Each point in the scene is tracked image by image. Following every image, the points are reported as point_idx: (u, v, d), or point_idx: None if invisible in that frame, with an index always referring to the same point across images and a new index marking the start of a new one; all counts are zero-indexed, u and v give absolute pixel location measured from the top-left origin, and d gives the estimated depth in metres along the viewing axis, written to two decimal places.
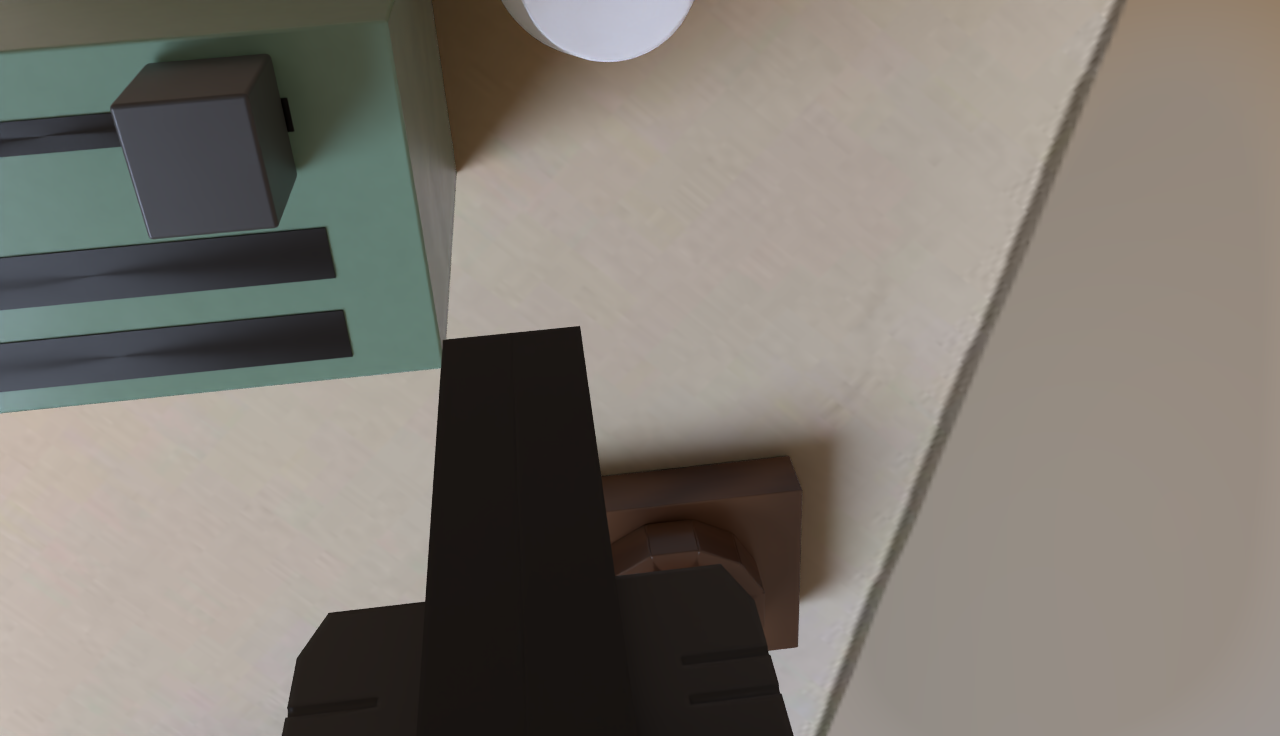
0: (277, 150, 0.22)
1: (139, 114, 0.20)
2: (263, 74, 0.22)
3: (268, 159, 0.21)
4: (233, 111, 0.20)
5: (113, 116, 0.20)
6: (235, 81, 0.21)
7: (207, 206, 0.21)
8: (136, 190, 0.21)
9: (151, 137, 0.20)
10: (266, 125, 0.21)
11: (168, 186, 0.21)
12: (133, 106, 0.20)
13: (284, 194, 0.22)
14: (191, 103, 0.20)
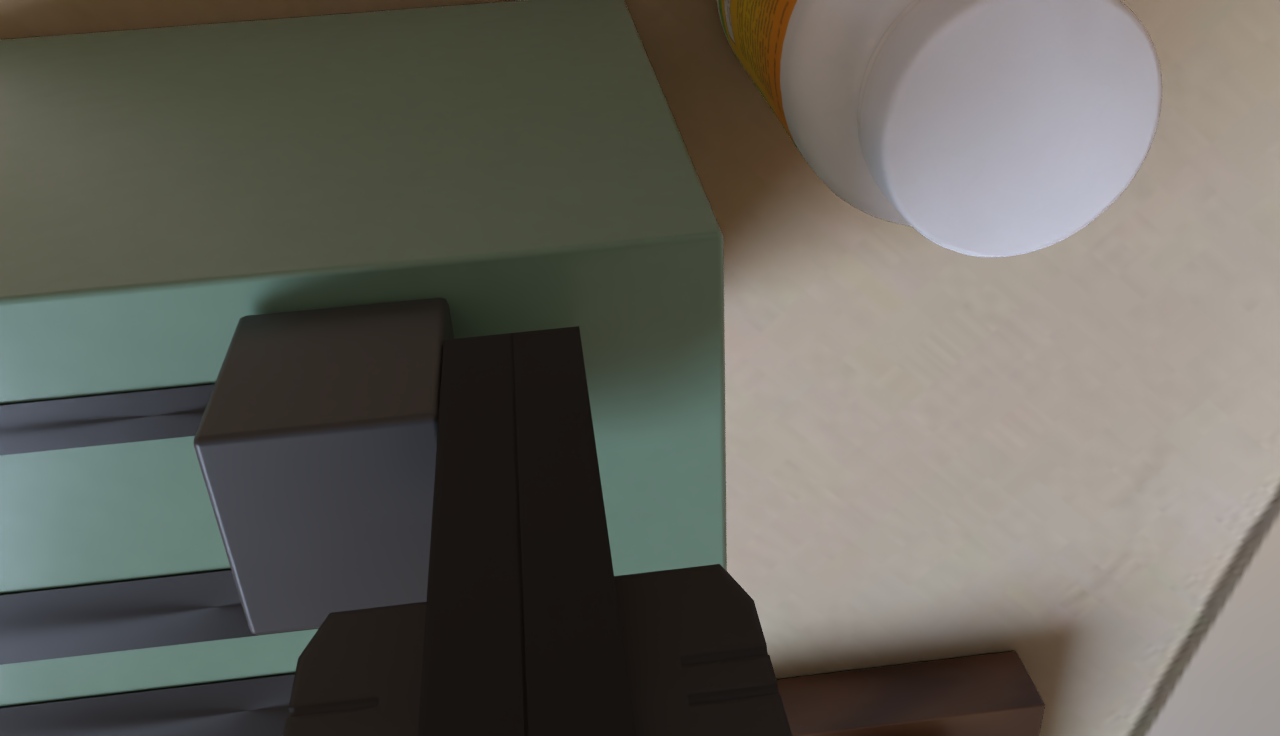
0: None
1: (246, 453, 0.11)
2: None
3: None
4: (414, 443, 0.11)
5: (199, 457, 0.11)
6: (408, 375, 0.12)
7: (354, 585, 0.12)
8: (233, 566, 0.12)
9: (265, 487, 0.11)
10: None
11: (289, 558, 0.12)
12: (235, 437, 0.11)
13: None
14: (339, 433, 0.11)
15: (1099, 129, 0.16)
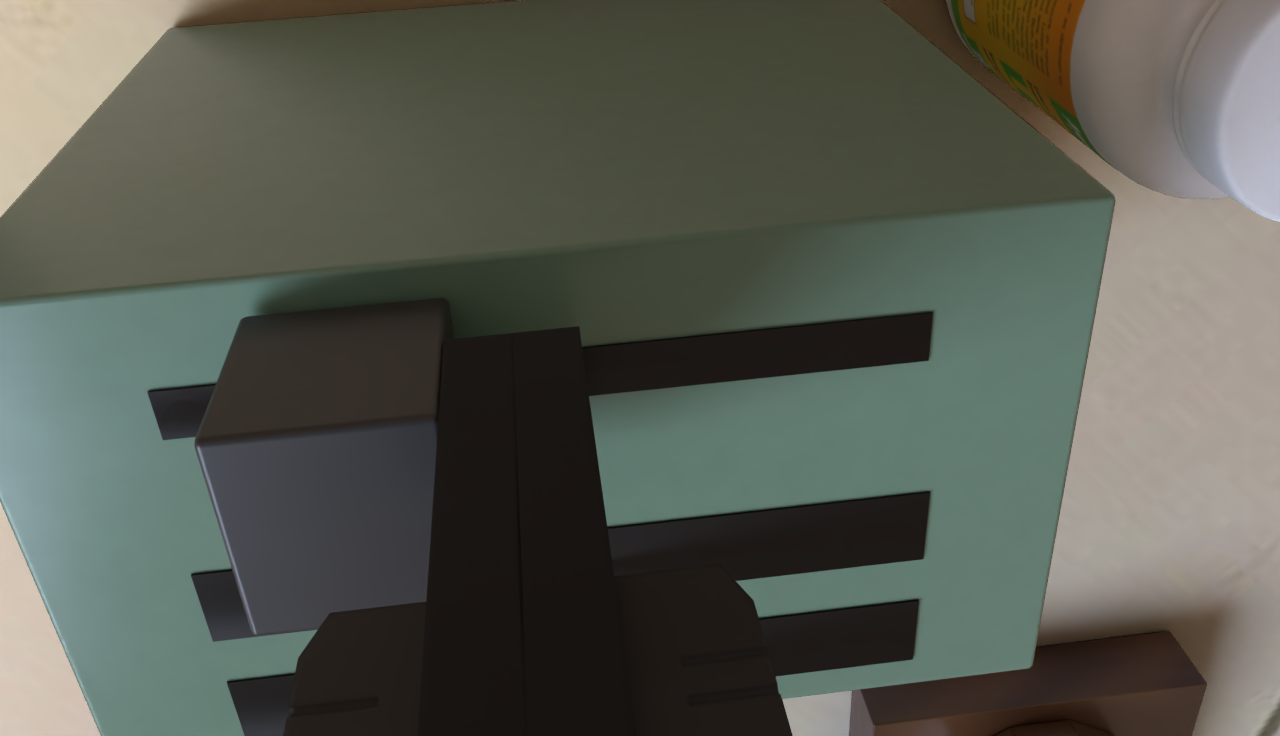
0: None
1: (246, 454, 0.11)
2: None
3: None
4: (414, 443, 0.11)
5: (200, 458, 0.11)
6: (408, 376, 0.12)
7: (355, 586, 0.12)
8: (234, 567, 0.12)
9: (266, 488, 0.11)
10: None
11: (290, 559, 0.12)
12: (235, 439, 0.11)
13: None
14: (340, 433, 0.11)
15: None
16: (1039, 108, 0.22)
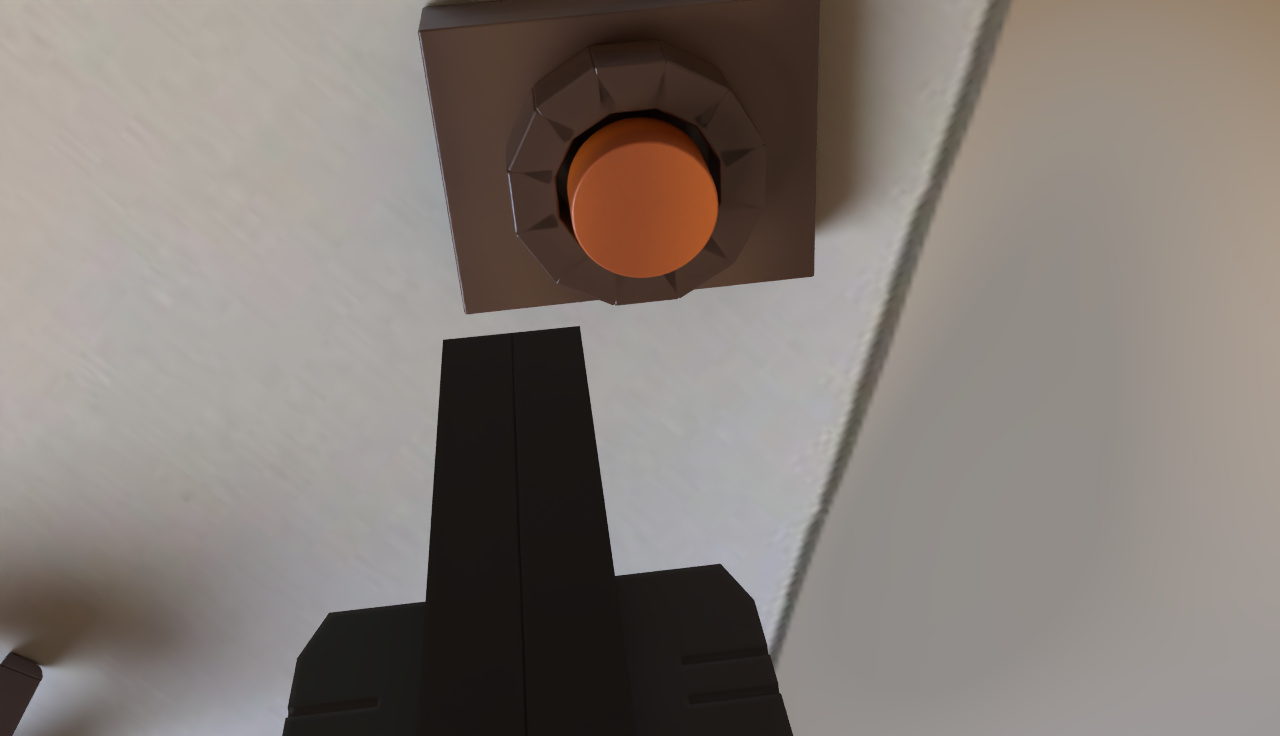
0: None
1: None
2: None
3: None
4: None
5: None
6: None
7: None
8: None
9: None
10: None
11: None
12: None
13: None
14: None
15: None
16: None
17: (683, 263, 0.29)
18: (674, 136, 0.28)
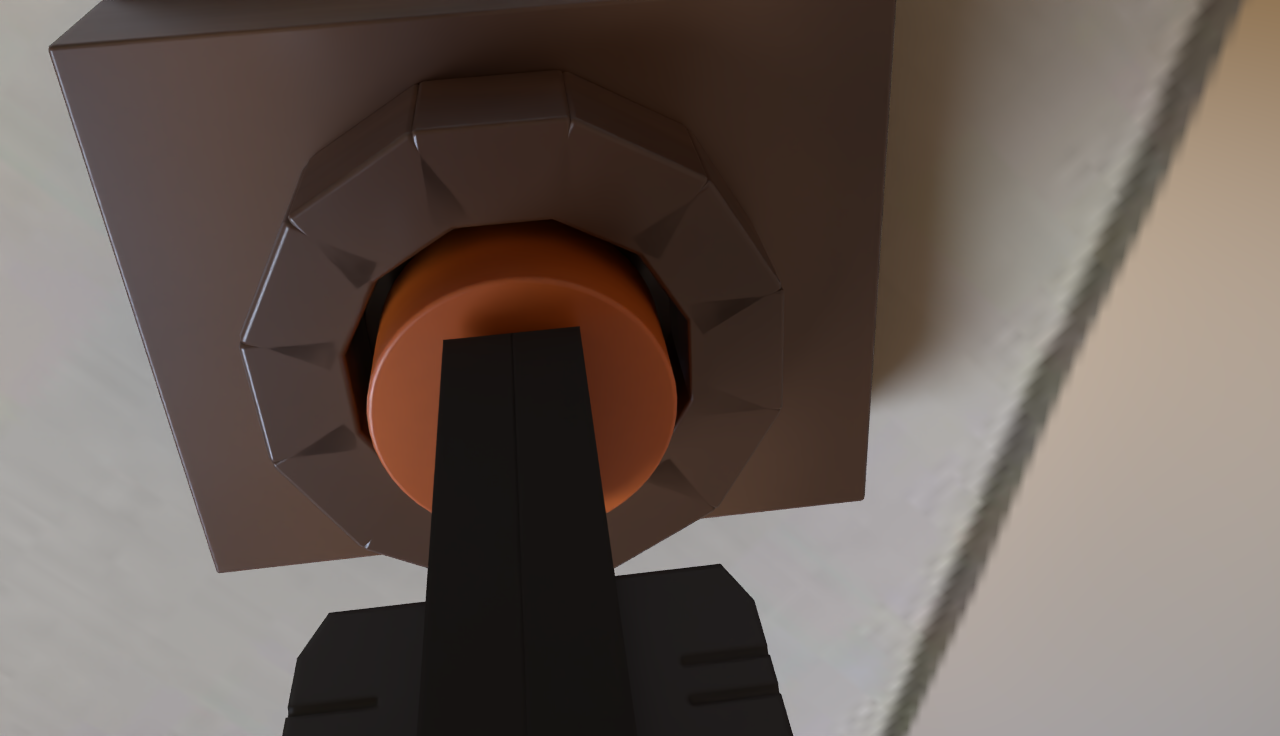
0: None
1: None
2: None
3: None
4: None
5: None
6: None
7: None
8: None
9: None
10: None
11: None
12: None
13: None
14: None
15: None
16: None
17: (607, 509, 0.14)
18: (585, 260, 0.13)
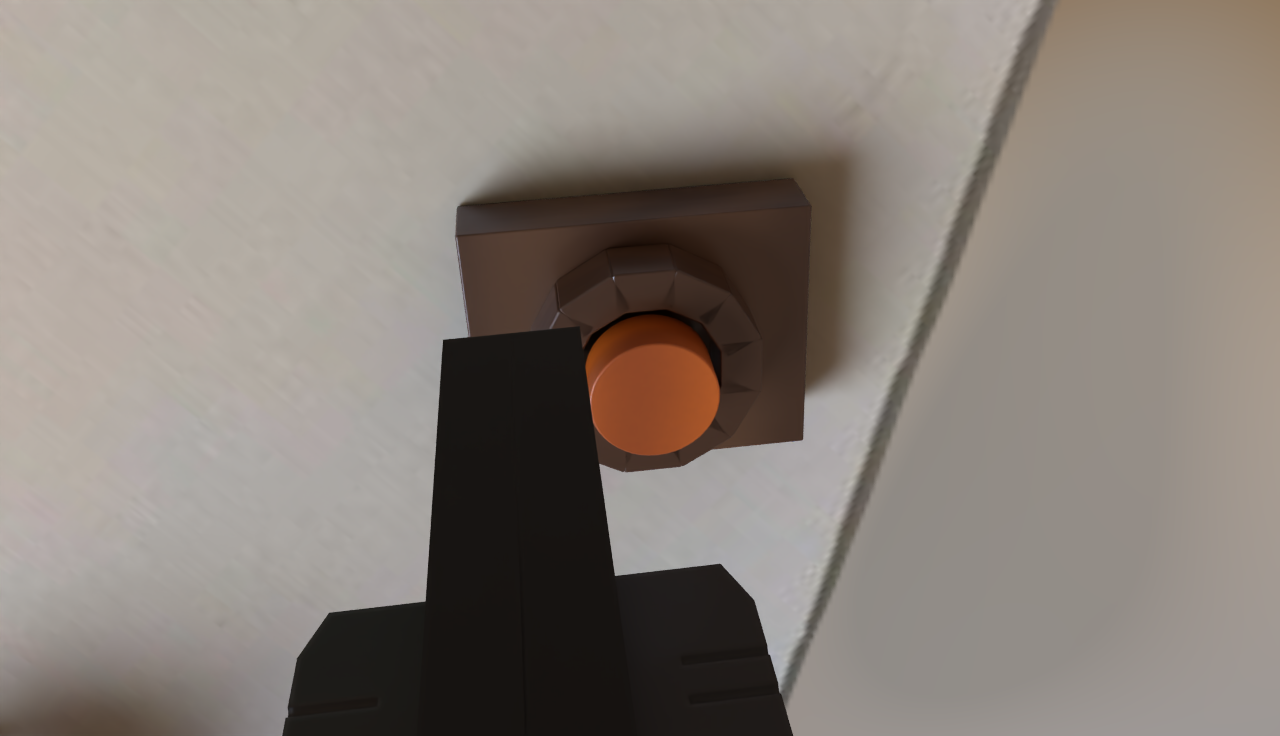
0: None
1: None
2: None
3: None
4: None
5: None
6: None
7: None
8: None
9: None
10: None
11: None
12: None
13: None
14: None
15: None
16: None
17: (687, 443, 0.32)
18: (681, 335, 0.31)
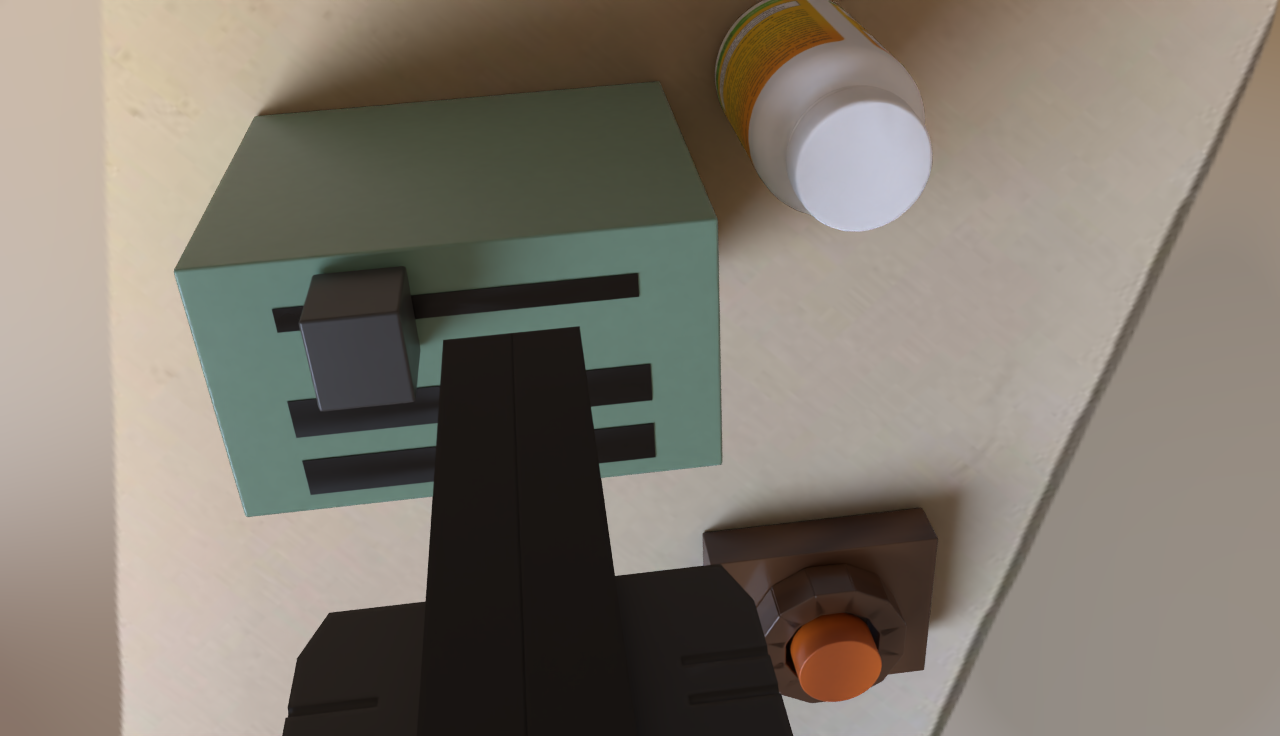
0: (412, 340, 0.29)
1: (320, 327, 0.27)
2: (404, 287, 0.29)
3: (409, 353, 0.28)
4: (388, 323, 0.28)
5: (301, 329, 0.27)
6: (386, 297, 0.28)
7: (364, 388, 0.28)
8: (313, 378, 0.28)
9: (327, 342, 0.28)
10: (407, 326, 0.29)
11: (337, 374, 0.28)
12: (315, 321, 0.27)
13: (416, 372, 0.30)
14: (358, 319, 0.27)
15: (902, 168, 0.32)
16: None
17: (859, 694, 0.50)
18: (858, 630, 0.49)
